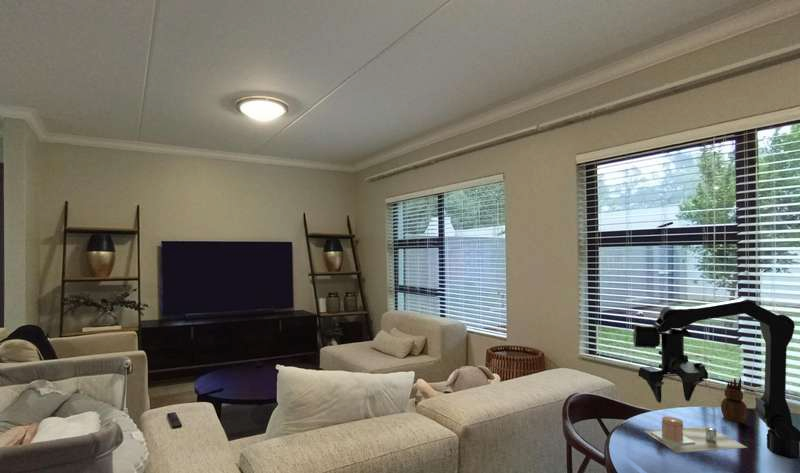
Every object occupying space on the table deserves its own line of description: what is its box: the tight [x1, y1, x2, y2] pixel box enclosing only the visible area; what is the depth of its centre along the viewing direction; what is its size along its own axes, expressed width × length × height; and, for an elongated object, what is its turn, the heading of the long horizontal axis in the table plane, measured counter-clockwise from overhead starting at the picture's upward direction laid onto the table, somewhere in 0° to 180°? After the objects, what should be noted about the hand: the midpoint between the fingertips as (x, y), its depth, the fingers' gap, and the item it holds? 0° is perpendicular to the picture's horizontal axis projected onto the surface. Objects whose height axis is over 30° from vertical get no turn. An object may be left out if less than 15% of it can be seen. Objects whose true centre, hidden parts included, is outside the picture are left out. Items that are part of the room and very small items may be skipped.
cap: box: [661, 416, 684, 441], centre depth 132 cm, size 5×5×5 cm
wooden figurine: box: [720, 377, 748, 424], centre depth 145 cm, size 7×6×15 cm
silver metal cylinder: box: [705, 426, 717, 443], centre depth 130 cm, size 3×3×4 cm
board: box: [643, 426, 748, 454], centre depth 131 cm, size 14×22×1 cm, turn 97°
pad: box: [651, 431, 695, 446], centre depth 132 cm, size 8×8×1 cm
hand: (673, 401), depth 132 cm, fingers open, 9 cm apart
